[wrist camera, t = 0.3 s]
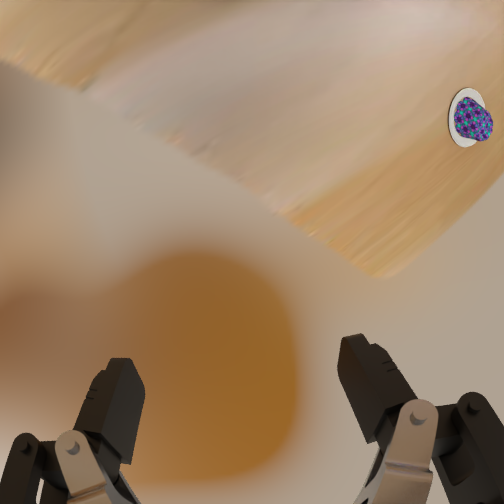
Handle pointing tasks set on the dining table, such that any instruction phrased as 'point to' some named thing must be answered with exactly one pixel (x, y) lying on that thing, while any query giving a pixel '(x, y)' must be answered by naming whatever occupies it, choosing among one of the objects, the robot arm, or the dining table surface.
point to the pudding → (469, 118)
